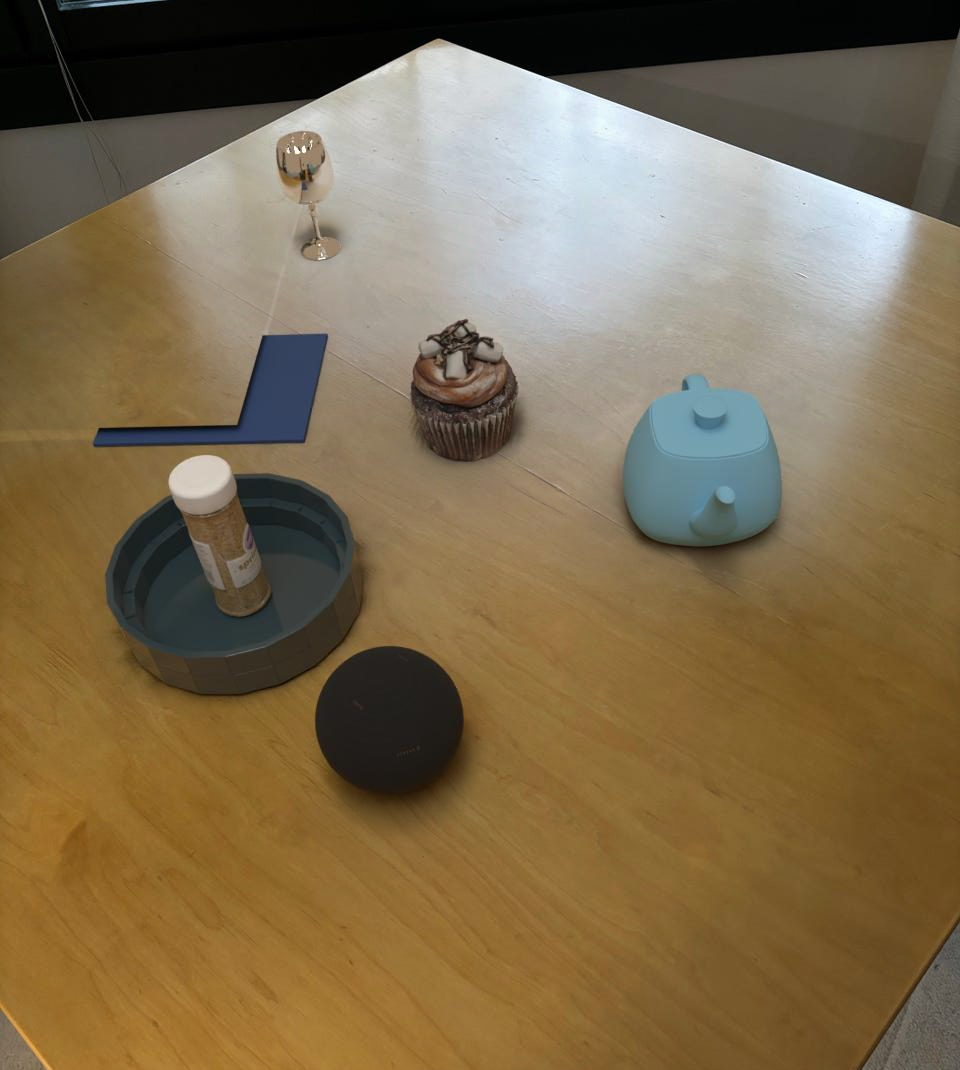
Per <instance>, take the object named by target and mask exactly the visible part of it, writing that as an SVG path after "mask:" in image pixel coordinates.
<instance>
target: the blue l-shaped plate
mask: <svg viewBox="0 0 960 1070" xmlns="http://www.w3.org/2000/svg"><path fill="white" fill-rule="evenodd" d="M328 338H329V335H328V333H327V332H326V333H297V334H296V333H294V334H293V333H292V334H291V333H290V334H263V335H262V336H261V339H260V342H259V346H258V350H257V353H256V356H255V360H254V364H253V367H252V370H251V375H250V378H249V381H248V385H247V388H246V391H245V394H244V399H243V403H242V405H241V409H240V413H239V416H238V419H237V424H210V425H207V424H206V425H163V426H162V425H160V426H159V425H157V426H120V427H119V426H117V427H116V426H115V427H113V426H112V427H111V426H110V427H98V429H97V432H96V434H95V437H94V439H93V441H92V446H93V447H95V448H100V447H102V448H105V447H151V446H153V447H155V446H156V447H157V446H198V445H199V446H200V445H201V446H202V445H203V446H204V445H205V446H206V445H207V446H208V445H249V444H250V445H252V444H254V445H255V444H298V443H300V444H301V443H303V444H304V443H305V441H306V436H307V433H308V429H309V428H308V427H309V424H310V420H311V415H312V410H313V406H314V401H315V396H316V392H317V388H318V383H319V378H320V374H321V369H322V365H323V361H324V357H325V356H324V355H325V351H326V347H327V342H328Z"/></svg>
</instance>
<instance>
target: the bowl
mask: <svg viewBox="0 0 960 1070" xmlns="http://www.w3.org/2000/svg"><path fill="white" fill-rule="evenodd" d="M233 475H234V478H235V481H236V485H237V495H238V498H239V501H240V504H241V507H242V510H243V513H244V516H245V518H246V521H247V523H248V525H249V527H250V530H251V533H252V536H253V539H254V542H255V545H256V548H257V551H258V554H259V557H260V560H261V566H262V569H263V572H264V575H265V577H266V579H267V581H268V583H269V584H270V588H271V595H270V598H269V600H268V601H267V603H266V605H265V606H264V607H263V608H262V609H260V610H259V611H257V612H255V613H253V614H251V615H248V616H243V617H236V616H230V615H227V614H225V613H223V612H222V611H221V610H220V609H219V608H218V606H217V603H216V598H215V594H214V591H213V589H212V586H211V584H210V583H209V582H208V580H207V577H206V575H205V572H204V570H203V567H202V565H201V562H200V560H199V557H198V555H197V552H196V550H195V547H194V545H193V542H192V540H191V537H190V535H189V531H188V527H187V525H186V522H185V520H184V517H183V515H182V512H181V511H180V510H179V508H178V507H177V506H176V504H175V502H174V499H173V497H172V494H171V493H170V494H169V495H168V496H165V497H163V498H162V499H161V500H159V501H158V502H157V503H156V504H154V505H153V506H151V507H150V508H148V510H146V511H145V512H144V513H143V514H141V515H139V516H138V517H137V518H136V519H135V520H134V521H133V522H132V524H130V526H129V528H128V529H127V530H126V531H125V533H123V535H122V536H121V538H120V539H119V540H118V542H117V543H116V544H115V546H114V548H113V550H112V552H111V553H112V554H111V557H110V559H109V562H108V565H107V567H106V571H105V574H104V582H105V583H104V584H105V595H106V605H107V606H108V609H109V611H110V612H111V614H112V616H113V619H114V620H115V622H116V624H117V627H118V628H119V629H120V632H121V633H122V636H123V637H124V639H125V641H126V643H127V644H128V646H129V648H130V650H131V651H132V653H133V655H134V656H135V658H136V660H137V662H138V664H139V665H140V666H141V667H142V668H144V669H145V670H146V671H148V672H149V673H150V674H151V675H153V676H154V677H156V678H157V679H159V680H160V681H162V682H163V683H164V684H165V685H169V686H173V687H176V688H178V689H181V690H186V691H190V692H193V693H196V694H200V695H242V694H246V693H249V692H254V691H258V690H262V689H265V688H269V687H274V686H277V685H280V684H283V683H285V682H287V681H288V680H290V679H292V678H294V677H296V676H297V675H300V674H301V673H304V672H305V671H307V670H309V669H311V668H313V667H315V666H316V665H317V664H318V663H320V662H321V660H323V659H324V658H325V657H326V656H327V655H328V654H329V653H330V652H331V651H332V650H333V649H334V648H336V647H337V646H338V644H340V643H341V642H342V641H343V640H344V638H345V637H346V635H347V633H348V631H349V630H350V628H351V626H352V624H353V623H354V620H355V619H356V617H357V615H358V614H359V612H360V608H361V602H362V596H363V588H364V583H365V582H364V577H363V573H362V568H361V564H360V560H359V555H358V550H357V546H356V543H355V539H354V535H353V532H352V528H351V524H350V520H349V517H348V516H347V514H345V512H344V511H343V510H342V509H341V508H340V506H339V505H338V504H337V502H336V501H335V500H334V499H333V498H332V497H331V495H329V494H328V493H326V492H324V491H323V490H321V489H319V488H317V487H315V486H313V485H311V484H310V483H308V482H307V481H304V480H303V479H297V478H294V477H288V476H284V475H279V474H276V473H269V472H268V473H266V472H265V473H263V472H262V473H261V472H260V473H233Z"/></svg>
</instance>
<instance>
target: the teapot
mask: <svg viewBox="0 0 960 1070" xmlns="http://www.w3.org/2000/svg"><path fill="white" fill-rule="evenodd" d="M630 435H631V436H630V437H629V440H628V443H627V446H626V450H625V454H624V459H623V469H622V490H623V495H624V499H625V502H626V505H627V509H628V512H629V514H630V517H631V519H632V521H633V522H634V524H635V525H636V526H637V527H638V529H639V530H640V531H641V532H642V533H643V534H644V535H645V536H646V537H648V538H650V539H652V540H654V541H657V542H660V543H664V544H668V545H676V546H683V547H685V546H686V547H712V546H722V545H727V544H732V543H737V542H740V541H743V540H747V539H750V538H752V537H754V536H755V535H757V534H759V533H762V532H763V531H764V530H766V529H767V528H768V527H769V526H771V524H772V523H773V522H774V521H775V519H776V518H777V517H778V515H779V514H780V509H781V505H782V497H783V496H782V494H783V491H782V489H783V488H782V487H783V486H782V485H783V484H782V469H781V462H780V456H779V452H778V447H777V444H776V441H775V438H774V435H773V432H772V429H771V426H770V424H769V421H768V419H767V417H766V414H765V412H764V410H763V408H762V406H761V403H760V402H759V400H758V399H757V398H756V397H755V396H754V395H752V394H750V393H748V392H746V391H743V390H738V389H733V388H718V387H717V388H715V387H713V388H711V387H710V386H709V382H708V380H707V378H706V376H705V375H703V374H700V373H692V374H688V375H686V376H684V377H683V379H682V381H681V390H679V391H675V392H671V393H667V394H664V395H661V396H659V397H657V398H656V399H654V400H653V401H652V402H651V403H650V404H649V406H648V407H647V408H646V410H645V411H644V413H643V414H642V416H641V417H640V419H639V420H638V422H637V423H636V424H635V427H634V429H633V431H632V433H631V434H630Z"/></svg>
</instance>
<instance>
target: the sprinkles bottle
mask: <svg viewBox="0 0 960 1070" xmlns="http://www.w3.org/2000/svg"><path fill="white" fill-rule="evenodd" d="M233 474H234V473H233V470H232V468H231V465H230V464H229V463H228V462H227V461H226V460H225V459H224V458H222V457H220V456H218V455H217V456H216V455H213V454H201V455H196V456H192V457H190V458H189V457H188V458H186V459H185V460H183V461H181V462H180V463H179V464H177V465H176V466H175V467H174V468H173V470H172V471H171V472H170V475H169V477H168V480H167V481H168V482H167V483H168V488H169V492H170V495H171V494H172V497H173V499H174V502H175V504H176V506H177V507H178V508H179V510H180V511H181V512H182V515H183V517H184V520H185V522H186V525H187V527H188V531H189V535H190V537H191V540H192V542H193V545H194V547H195V550H196V552H197V555H198V557H199V560H200V562H201V565H202V567H203V570H204V572H205V575H206V577H207V580H208V582H209V583H210V584H211V586H212V589H213V591H214V594H215V598H216V603H217V606H218V608H219V609H220V610H221V611H222V612H223V613H225V614H227V615H230V616H236V617H243V616H248V615H251V614H253V613H255V612H257V611H259V610H260V609H262V608H263V607H264V606H265V605H266V603H267V601H268V600H269V598H270V595H271V588H270V584H269V583H268V581H267V579H266V577H265V575H264V572H263V569H262V566H261V560H260V557H259V554H258V551H257V548H256V545H255V542H254V539H253V536H252V533H251V530H250V527H249V525H248V523H247V521H246V518H245V516H244V513H243V510H242V507H241V504H240V501H239V498H238V495H237V485H236V481H235V478H234V475H233Z"/></svg>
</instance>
